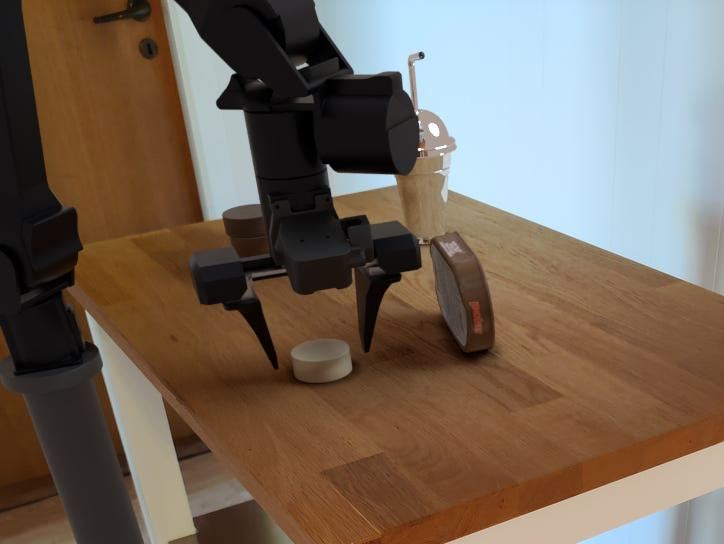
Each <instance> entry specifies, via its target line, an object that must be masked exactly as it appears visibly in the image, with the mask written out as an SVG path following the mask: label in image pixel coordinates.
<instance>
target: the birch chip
mask: <svg viewBox="0 0 724 544" xmlns="http://www.w3.org/2000/svg"><path fill="white" fill-rule="evenodd" d="M290 358H291V364H292V370H293V374H294V377H295V378H296V379H297V380H299V381H301V382H304V383H310V384H323V383H329V382H334V381H338V380H341V379H342V378H344V377H347V376H348V375H350V373H351V372H352V371H353V363H352V362H353V361H352V356H351V349H350V345H349V343H347V342H346V341H345V340H341V339H336V338H318V339H312V340H308V341H305V342H302V343H299V344H298V345H295V346H294V347H293V348H291V351H290Z"/></svg>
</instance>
